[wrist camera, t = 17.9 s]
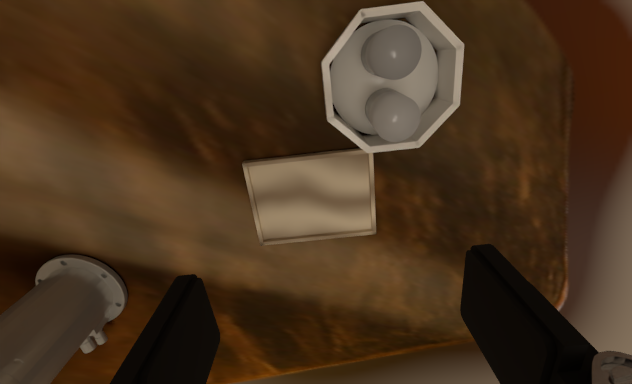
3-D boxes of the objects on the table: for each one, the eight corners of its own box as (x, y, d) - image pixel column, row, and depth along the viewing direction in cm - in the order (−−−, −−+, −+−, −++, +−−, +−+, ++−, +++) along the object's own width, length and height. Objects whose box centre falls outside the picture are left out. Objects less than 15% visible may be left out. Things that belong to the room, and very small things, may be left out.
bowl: (438, 132, 37) (456, 143, 32) (328, 145, 37) (330, 157, 33) (445, 4, 31) (468, -5, 27) (316, 21, 32) (316, 15, 27)
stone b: (401, 28, 31) (422, 21, 25) (401, 73, 33) (420, 76, 27) (359, 33, 31) (370, 28, 26) (361, 78, 33) (372, 82, 27)
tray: (374, 230, 42) (376, 233, 41) (261, 241, 43) (260, 245, 42) (371, 146, 37) (372, 148, 36) (243, 161, 38) (241, 163, 37)
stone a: (397, 81, 33) (413, 87, 27) (408, 118, 35) (426, 131, 29) (359, 97, 34) (367, 107, 28) (372, 133, 36) (382, 149, 30)
